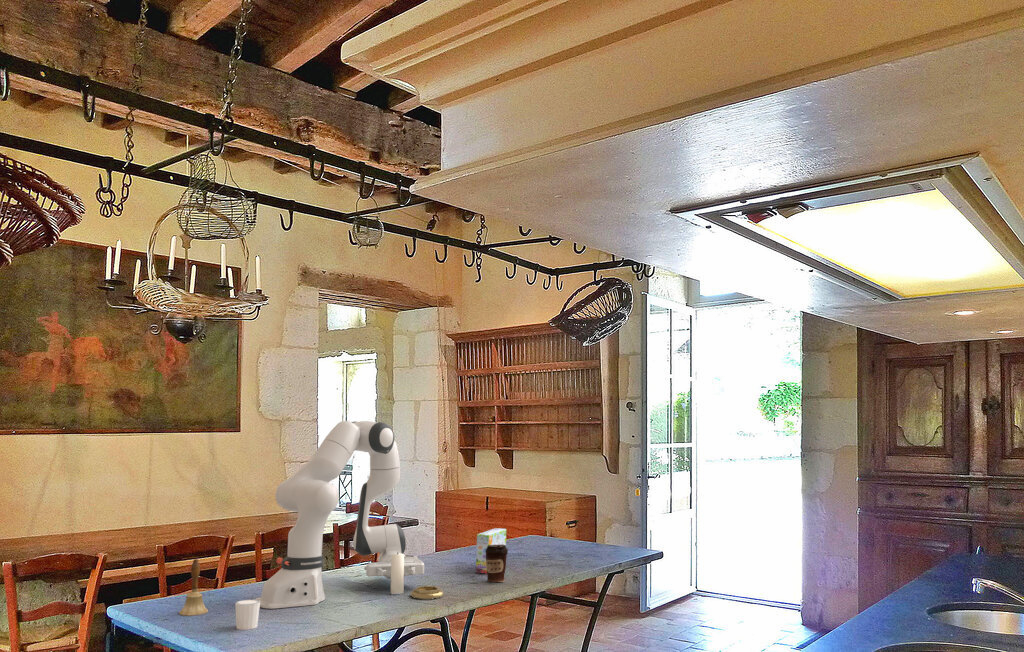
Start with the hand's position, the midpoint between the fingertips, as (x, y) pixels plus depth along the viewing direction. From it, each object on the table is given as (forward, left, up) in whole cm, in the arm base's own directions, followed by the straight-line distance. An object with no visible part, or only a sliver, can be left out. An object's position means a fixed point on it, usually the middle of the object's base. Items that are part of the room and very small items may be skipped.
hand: (397, 572), depth 275 cm
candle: (0, +1, -7) cm, 7 cm away
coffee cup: (+40, -2, -7) cm, 41 cm away
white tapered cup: (-57, -14, -7) cm, 59 cm away
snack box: (+53, +19, -7) cm, 57 cm away
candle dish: (+6, -9, -7) cm, 13 cm away
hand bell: (-64, +13, -7) cm, 65 cm away
